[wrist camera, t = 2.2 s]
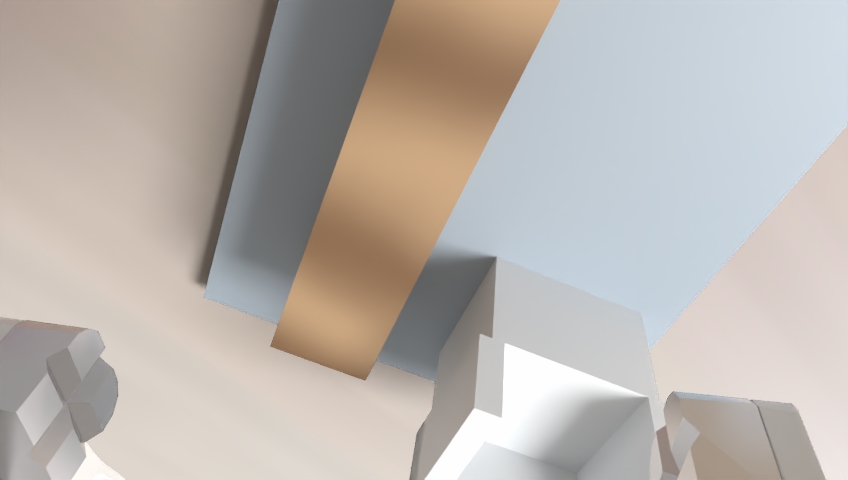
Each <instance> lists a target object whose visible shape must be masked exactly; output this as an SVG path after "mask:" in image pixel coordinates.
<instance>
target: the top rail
mask: <svg viewBox="0 0 848 480" xmlns="http://www.w3.org/2000/svg"><path fill="white" fill-rule="evenodd" d="M559 2H560V0H395V2H394V5H393V7H392V10H391V13H390V16H389V18H388V21H387V24H386V27H385V30H384V32H383V35H382V38H381V41H380V43H379V46H378V49H377V52H376V55H375V57H374V60H373V63H372V66H371V68H370V71H369V74H368V77H367V80H366V82H365V85H364V88H363V91H362V93H361V96H360V99H359V102H358V104H357V107H356V110H355V113H354V116H353V118H352V121H351V124H350V127H349V129H348V132H347V135H346V138H345V141H344V143H343V146H342V149H341V152H340V154H339V157H338V160H337V163H336V165H335V168H334V171H333V174H332V177H331V179H330V182H329V185H328V188H327V190H326V193H325V196H324V199H323V202H322V204H321V207H320V210H319V213H318V215H317V218H316V221H315V224H314V227H313V229H312V232H311V235H310V238H309V240H308V243H307V246H306V249H305V251H304V254H303V257H302V260H301V263H300V265H299V268H298V271H297V274H296V276H295V279H294V282H293V285H292V288H291V290H290V293H289V296H288V299H287V301H286V304H285V307H284V310H283V312H282V315H281V318H280V321H279V324H278V326H277V329H276V332H275V335H274V337H273V340H272V343H271V346H270V347H273V348H276V349H279V350H282V351H284V352H287V353H290V354H293V355H295V356H298V357H301V358H304V359H307V360H309V361H312V362H315V363H318V364H320V365H323V366H326V367H329V368H332V369H334V370H337V371H340V372H343V373H345V374H348V375H351V376H354V377H357V378H359V379H362V380H366V378H367V376H368V374H369V373H370V371H371V369H372V367H373V365H374V363H375V361H376V359H377V357H378V355H379V353H380V351H381V349H382V347H383V345H384V343H385V341H386V339H387V337H388V335H389V334H390V332H391V330H392V328H393V326H394V324H395V322H396V320H397V318H398V316H399V314H400V312H401V310H402V308H403V306H404V304H405V302H406V300H407V298H408V296H409V295H410V293H411V291H412V289H413V287H414V285H415V283H416V281H417V279H418V277H419V275H420V273H421V271H422V269H423V267H424V265H425V263H426V261H427V259H428V257H429V256H430V254H431V252H432V250H433V248H434V246H435V244H436V242H437V240H438V238H439V236H440V234H441V232H442V230H443V228H444V226H445V224H446V222H447V220H448V218H449V217H450V215H451V213H452V211H453V209H454V207H455V205H456V203H457V201H458V199H459V197H460V195H461V193H462V191H463V189H464V187H465V185H466V183H467V181H468V179H469V178H470V176H471V174H472V172H473V170H474V168H475V166H476V164H477V162H478V160H479V158H480V156H481V154H482V152H483V150H484V148H485V146H486V144H487V142H488V140H489V139H490V137H491V135H492V133H493V131H494V129H495V127H496V125H497V123H498V121H499V119H500V117H501V115H502V113H503V111H504V109H505V107H506V105H507V103H508V101H509V100H510V98H511V96H512V94H513V92H514V90H515V88H516V86H517V84H518V82H519V80H520V78H521V76H522V74H523V72H524V70H525V68H526V66H527V64H528V62H529V60H530V59H531V57H532V55H533V53H534V51H535V49H536V47H537V45H538V43H539V41H540V39H541V37H542V35H543V33H544V31H545V29H546V27H547V25H548V23H549V21H550V20H551V18H552V16H553V14H554V12H555V10H556V8H557V6H558V4H559Z"/></svg>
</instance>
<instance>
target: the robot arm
mask: <svg viewBox="0 0 848 480" xmlns="http://www.w3.org/2000/svg"><path fill="white" fill-rule="evenodd" d="M104 349H105V346H104V343H103V341H102V339H101V337H100V334H99V332H98V331H95V330H92V329H88V328H80V327H73V326H66V325H58V324H51V323H44V322H36V321H29V320H18V319H10V318H3V317H0V480H125V479H124V478H123V477H122V476H120V475H119V474H118V473H117V472H115V471H114V470H112V469H111V468H110V467H108V466H107V465H105V464H104V463H103V462H102V461H101V460H100V459H99V458H98V457H97V456H96V455H95V453H94V452H93V451H92V449H91V448H90V447H89V446H88V444H87V443H86V441H88V440H90V439H91V438H93V437H94V436H96V435H97V434H99V433H101V432H102V431H103V430H104V428H105V427H106V425H107V423H108V422H109V420H110V418H111V417H112V415H113V412H114V408H115V405H116V401H117V397H118V381H117V378H116V375H115V372H114V369H113V368H112V367H111V366H109V365H108V364H107V363H106V362H105V361H104V360H102V359H101V358H100V355H101V354H102V352H103V350H104ZM663 411H664V417H665V422H666V426H664V427H662V428H661V429H659V430H657V431H656V433H655V437H654V440H653V443H652V447H651V455H650V465H649V471H650V480H827V479H826V477H825V474H824V472H823V469H822V467H821V464H820V462H819V460H818V457H817V455H816V452H815V450H814V447H813V445H812V442H811V440H810V437H809V435H808V433H807V430H806V428H805V425H804V423H803V420H802V418H801V415H800V413H799V411H798V409H797V408H796V407H795V406H794V405H793V404H790V403H780V402H771V401H761V400H748V399H744V398H734V397H724V396H714V395H703V394H693V393H683V392H672V393H671V394H670V395H669V397H668V398H667V401H666V404H665V406H664V409H663Z"/></svg>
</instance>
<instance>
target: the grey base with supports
mask: <svg viewBox="0 0 848 480" xmlns="http://www.w3.org/2000/svg"><path fill="white" fill-rule="evenodd" d="M394 2H395V0H279V2H278V6H277V9H276V13H275V17H274V21H273V25H272V29H271V33H270V37H269V41H268V45H267V49H266V53H265V57H264V61H263V65H262V69H261V73H260V77H259V80H258V84H257V88H256V92H255V96H254V100H253V104H252V108H251V112H250V116H249V120H248V124H247V128H246V132H245V136H244V140H243V144H242V148H241V152H240V155H239V159H238V163H237V167H236V171H235V175H234V179H233V183H232V187H231V191H230V195H229V199H228V203H227V207H226V211H225V215H224V219H223V223H222V226H221V230H220V234H219V238H218V242H217V246H216V250H215V254H214V258H213V262H212V266H211V270H210V274H209V278H208V282H207V286H206V290H205V294H204V298H207V299H209V300H212V301H215V302H218V303H220V304H223V305H226V306H229V307H231V308H234V309H237V310H240V311H242V312H245V313H248V314H251V315H253V316H256V317H259V318H262V319H264V320H267V321H270V322H272V323H275V324H279V321H280V318H281V315H282V312H283V310H284V307H285V304H286V301H287V299H288V296H289V293H290V290H291V288H292V285H293V282H294V279H295V276H296V274H297V271H298V268H299V265H300V263H301V260H302V257H303V254H304V251H305V249H306V246H307V243H308V240H309V238H310V235H311V232H312V229H313V227H314V224H315V221H316V218H317V215H318V213H319V210H320V207H321V204H322V202H323V199H324V196H325V193H326V190H327V188H328V185H329V182H330V179H331V177H332V174H333V171H334V168H335V165H336V163H337V160H338V157H339V154H340V152H341V149H342V146H343V143H344V141H345V138H346V135H347V132H348V129H349V127H350V124H351V121H352V118H353V116H354V113H355V110H356V107H357V104H358V102H359V99H360V96H361V93H362V91H363V88H364V85H365V82H366V80H367V77H368V74H369V71H370V68H371V66H372V63H373V60H374V57H375V55H376V52H377V49H378V46H379V43H380V41H381V38H382V35H383V32H384V30H385V27H386V24H387V21H388V18H389V16H390V13H391V10H392V7H393V5H394ZM847 125H848V0H560V2H559V4H558V6H557V8H556V10H555V12H554V14H553V16H552V18H551V20H550V21H549V23H548V25H547V27H546V29H545V31H544V33H543V35H542V37H541V39H540V41H539V43H538V45H537V47H536V49H535V51H534V53H533V55H532V57H531V59H530V60H529V62H528V64H527V66H526V68H525V70H524V72H523V74H522V76H521V78H520V80H519V82H518V84H517V86H516V88H515V90H514V92H513V94H512V96H511V98H510V100H509V101H508V103H507V105H506V107H505V109H504V111H503V113H502V115H501V117H500V119H499V121H498V123H497V125H496V127H495V129H494V131H493V133H492V135H491V137H490V139H489V140H488V142H487V144H486V146H485V148H484V150H483V152H482V154H481V156H480V158H479V160H478V162H477V164H476V166H475V168H474V170H473V172H472V174H471V176H470V178H469V179H468V181H467V183H466V185H465V187H464V189H463V191H462V193H461V195H460V197H459V199H458V201H457V203H456V205H455V207H454V209H453V211H452V213H451V215H450V217H449V218H448V220H447V222H446V224H445V226H444V228H443V230H442V232H441V234H440V236H439V238H438V240H437V242H436V244H435V246H434V248H433V250H432V252H431V254H430V256H429V257H428V259H427V261H426V263H425V265H424V267H423V269H422V271H421V273H420V275H419V277H418V279H417V281H416V283H415V285H414V287H413V289H412V291H411V293H410V295H409V296H408V298H407V300H406V302H405V304H404V306H403V308H402V310H401V312H400V314H399V316H398V318H397V320H396V322H395V324H394V326H393V328H392V330H391V332H390V334H389V335H388V337H387V339H386V341H385V343H384V345H383V347H382V349H381V351H380V353H379V355H378V357H377V359H376V360H377V361H380V362H382V363H385V364H388V365H391V366H393V367H396V368H399V369H401V370H404V371H407V372H410V373H412V374H415V375H418V376H421V377H423V378H426V379H429V380H432V381H434V382H436V383H435V390H434V397H433V404H432V410H431V412H430V413H429V415H428V416H427V418H426V420H425V421H424V423H423V424H422V426H421V427H420V429H419V431H418V432H417V435H416V442H415V448H414V454H413V461H412V467H411V473H410V480H650V471H649V465H650V455H651V447H652V443H653V440H654V437H655V433H656V431H657V430H659V429H661V428H662V427H664V426H666V422H665V417H664V411H663V409H664V406H665V403H663V402H660V400H659V395H658V390H657V385H656V380H655V376H654V371H653V366H652V361H651V357H650V352H649V350H650V349H651V348H652V347H653V346H654V345H655V344H656V342H657V341H658V340H659V339H660V338H661V337H662V336H663V334H664V333H665V332H666V331H667V330H668V329H669V328H670V327H671V325H672V324H673V323H674V322H675V321H676V320H677V319H678V317H679V316H680V315H681V314H682V313H683V312H684V311H685V309H686V308H687V307H688V306H689V305H690V304H691V303H692V301H693V300H694V299H695V298H696V297H697V296H698V295H699V293H700V292H701V291H702V290H703V289H704V288H705V287H706V286H707V284H708V283H709V282H710V281H711V280H712V279H713V278H714V276H715V275H716V274H717V273H718V272H719V271H720V270H721V268H722V267H723V266H724V265H725V264H726V263H727V262H728V260H729V259H730V258H731V257H732V256H733V255H734V254H735V252H736V251H737V250H738V249H739V248H740V247H741V246H742V245H743V243H744V242H745V241H746V240H747V239H748V238H749V237H750V235H751V234H752V233H753V232H754V231H755V230H756V229H757V227H758V226H759V225H760V224H761V223H762V222H763V221H764V219H765V218H766V217H767V216H768V215H769V214H770V213H771V211H772V210H773V209H774V208H775V207H776V206H777V205H778V204H779V202H780V201H781V200H782V199H783V198H784V197H785V196H786V194H787V193H788V192H789V191H790V190H791V189H792V188H793V186H794V185H795V184H796V183H797V182H798V181H799V180H800V178H801V177H802V176H803V175H804V174H805V173H806V172H807V170H808V169H809V168H810V167H811V166H812V165H813V164H814V163H815V161H816V160H817V159H818V158H819V157H820V156H821V155H822V153H823V152H824V151H825V150H826V149H827V148H828V147H829V145H830V144H831V143H832V142H833V141H834V140H835V139H836V137H837V136H838V135H839V134H840V133H841V132H842V131H843V129H844V128H845V127H846V126H847Z"/></svg>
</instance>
